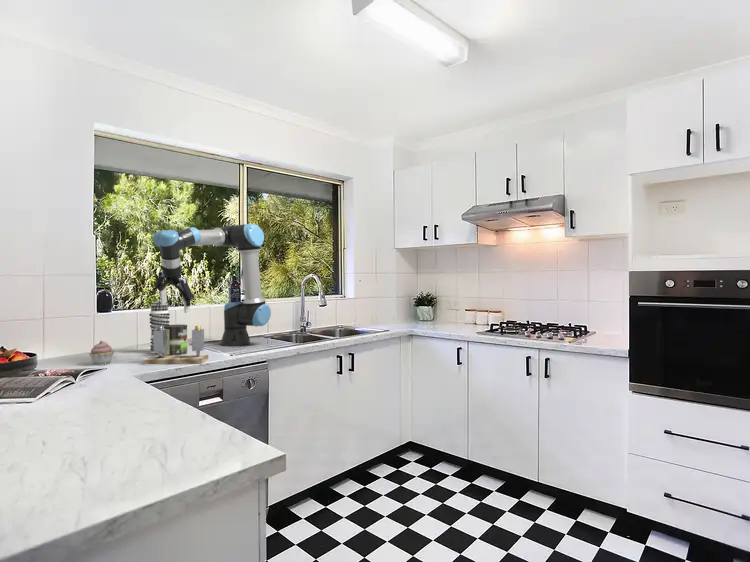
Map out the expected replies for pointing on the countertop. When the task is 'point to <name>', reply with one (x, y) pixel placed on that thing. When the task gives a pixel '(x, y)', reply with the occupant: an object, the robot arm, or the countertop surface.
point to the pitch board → (176, 359)
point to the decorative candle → (158, 318)
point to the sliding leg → (197, 340)
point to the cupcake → (101, 353)
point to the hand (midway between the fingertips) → (175, 307)
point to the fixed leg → (159, 341)
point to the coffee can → (176, 340)
